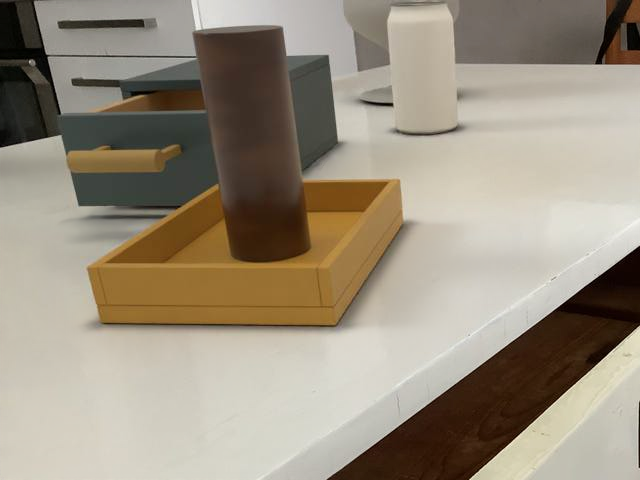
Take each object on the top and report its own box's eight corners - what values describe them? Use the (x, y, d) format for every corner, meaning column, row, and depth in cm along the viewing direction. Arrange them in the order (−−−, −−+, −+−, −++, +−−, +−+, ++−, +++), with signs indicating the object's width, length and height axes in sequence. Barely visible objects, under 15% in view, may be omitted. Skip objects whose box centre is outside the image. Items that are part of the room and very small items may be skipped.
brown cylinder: (218, 262, 47) (176, 34, 42) (247, 237, 51) (213, 26, 46) (297, 262, 47) (265, 31, 42) (320, 237, 51) (294, 24, 46)
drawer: (206, 223, 55) (188, 124, 52) (43, 224, 56) (17, 127, 54) (295, 159, 72) (285, 81, 69) (168, 160, 73) (153, 85, 70)
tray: (100, 323, 42) (85, 267, 41) (229, 223, 58) (221, 180, 57) (336, 326, 41) (328, 267, 40) (403, 223, 56) (400, 178, 55)
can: (446, 120, 90) (439, -1, 85) (467, 130, 85) (461, 1, 80) (388, 127, 88) (377, 3, 83) (405, 137, 83) (395, 5, 78)
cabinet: (287, 182, 68) (273, 77, 65) (140, 183, 70) (118, 81, 66) (338, 142, 82) (328, 54, 79) (214, 144, 84) (199, 58, 80)
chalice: (338, 96, 109) (325, -31, 103) (438, 86, 115) (431, -36, 108) (372, 111, 98) (360, -31, 91) (481, 99, 103) (477, -37, 96)
